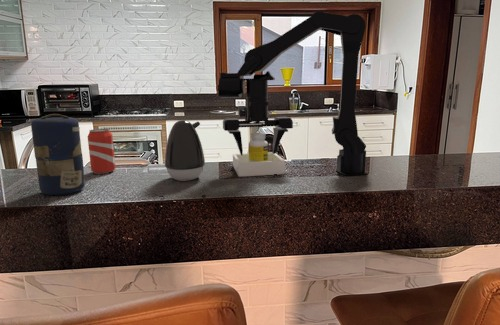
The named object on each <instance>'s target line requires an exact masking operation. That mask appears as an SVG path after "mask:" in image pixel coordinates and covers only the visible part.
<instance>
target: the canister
mask: <svg viewBox="0 0 500 325" xmlns="http://www.w3.org/2000/svg"><path fill="white" fill-rule="evenodd" d="M54 116H55V117H54ZM56 116H57V117H56ZM30 128H31V135H32V144H33V151H34V152H33V153H34V158H35V163H36V164H35V165H36V172H37V177H38V178H37V179H38V185H39V190H40V192H41V193H42V194H45V195H48V196H60V195H68V194H72V193H76V192H79V191H80V190H83V188H84V187H85V186H86V181H85V179H86V178H85V169H84V160H83V159H84V158H83V152H82V143H81V142H82V141H81V134H80V123H79V120H78V119H77V118H75V117H69V116H67V115H63V114H59V113H52V114H51V113H50V114H47V115H44V116H41V117H40V118H36V119H33V120H32V121H31V124H30Z"/></svg>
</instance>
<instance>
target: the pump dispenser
mask: <svg viewBox="0 0 500 325" xmlns="http://www.w3.org/2000/svg"><path fill="white" fill-rule="evenodd" d="M200 125H201V122H199V121H196V122H194V123H191V121H189V120H185V119H182V120H181V119H179V120H178V121H176V122H175V123H173V125H172V126H171V129H170V131H169V134H168V137H167V139H166V140H167V141H166V145H165V153H164V167H165V168H166V170H167V173H168V175H169V176H170V177H171V179H174V180H176V181H180V182H188V181H193V180H196V179H197V178H199V177H200V176H201V174H202V173H203V171H204V166H205V165H206V163H205V162H206V159H205V155H204V154H205V152H204V150H203V145H202V142H201V139H200V137H199V134H198V132H197V130H196V128H198V127H199V126H200Z"/></svg>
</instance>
